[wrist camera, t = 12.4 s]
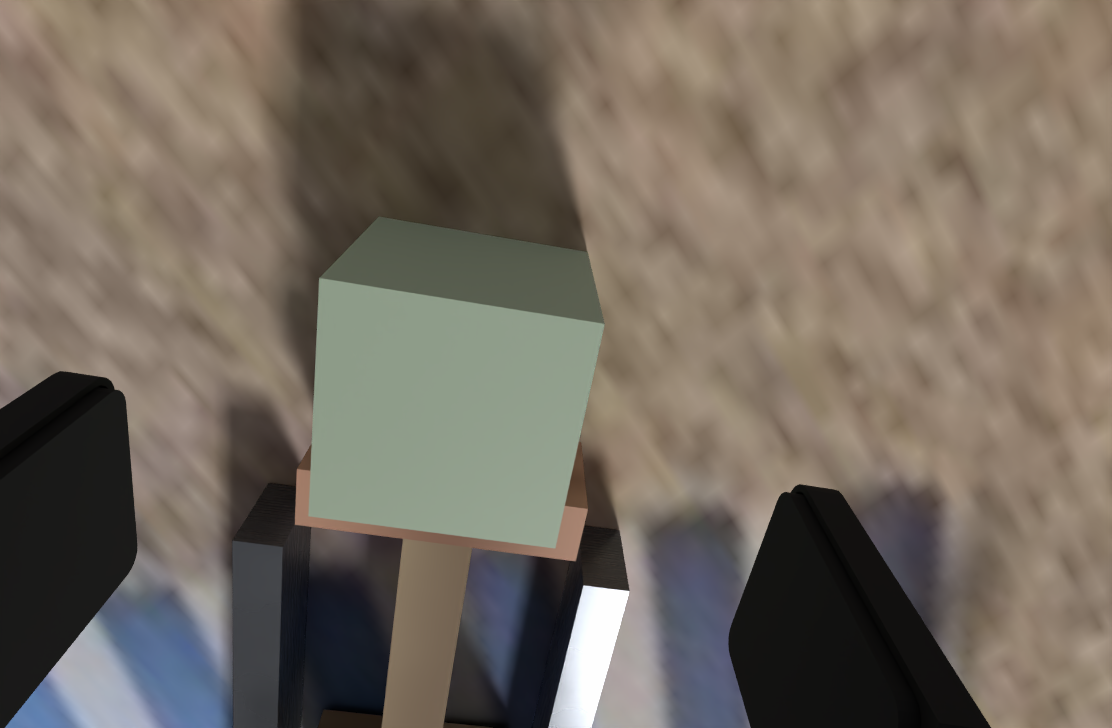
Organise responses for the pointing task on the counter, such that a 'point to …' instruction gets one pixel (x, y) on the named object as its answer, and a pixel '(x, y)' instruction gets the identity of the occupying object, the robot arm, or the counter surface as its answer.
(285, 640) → the dark grey rails
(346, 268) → the block
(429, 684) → the tan pedestal
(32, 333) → the counter surface
